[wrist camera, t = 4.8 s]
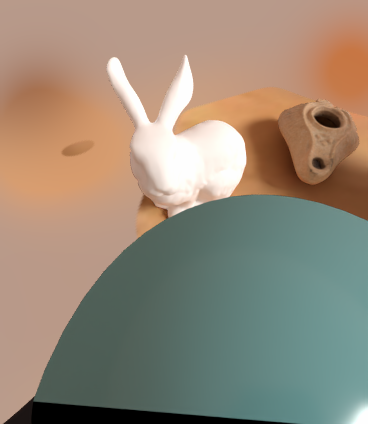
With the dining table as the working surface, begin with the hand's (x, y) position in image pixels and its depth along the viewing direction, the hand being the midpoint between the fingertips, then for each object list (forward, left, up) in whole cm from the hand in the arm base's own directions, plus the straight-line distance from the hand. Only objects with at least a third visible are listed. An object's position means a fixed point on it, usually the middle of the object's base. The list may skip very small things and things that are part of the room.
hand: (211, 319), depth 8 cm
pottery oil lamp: (+19, +13, -10) cm, 25 cm away
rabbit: (+3, +12, -10) cm, 16 cm away
